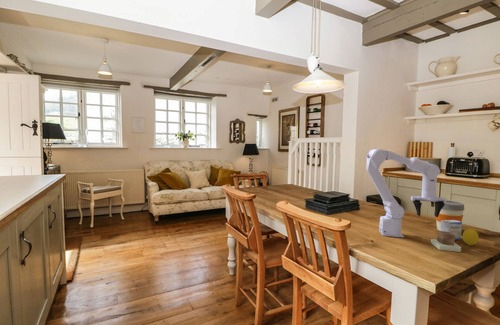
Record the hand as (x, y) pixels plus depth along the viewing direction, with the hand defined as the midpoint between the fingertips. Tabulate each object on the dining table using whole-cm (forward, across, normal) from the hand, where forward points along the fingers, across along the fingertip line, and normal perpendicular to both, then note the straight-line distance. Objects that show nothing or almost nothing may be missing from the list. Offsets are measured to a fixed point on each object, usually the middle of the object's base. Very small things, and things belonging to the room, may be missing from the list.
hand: (427, 216), depth 125 cm
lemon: (+11, +15, -7) cm, 19 cm away
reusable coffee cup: (+11, +16, +15) cm, 24 cm away
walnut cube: (+8, +3, -13) cm, 15 cm away
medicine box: (+11, +11, +1) cm, 15 cm away
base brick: (+11, +3, -12) cm, 17 cm away
